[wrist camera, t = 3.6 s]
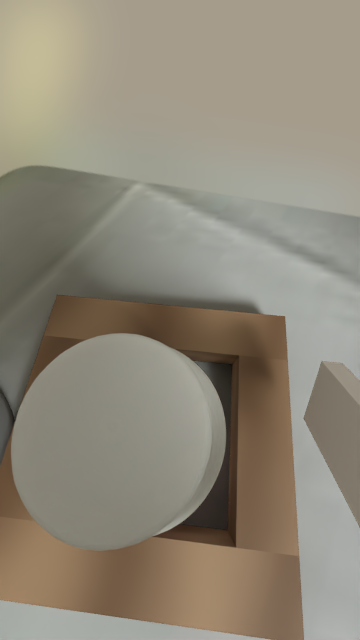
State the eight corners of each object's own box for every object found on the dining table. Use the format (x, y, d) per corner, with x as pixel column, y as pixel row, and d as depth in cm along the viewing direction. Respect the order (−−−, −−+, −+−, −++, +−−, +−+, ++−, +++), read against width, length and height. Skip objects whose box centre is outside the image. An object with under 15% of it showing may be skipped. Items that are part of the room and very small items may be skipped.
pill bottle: (94, 400, 15) (-41, 351, 6) (182, 364, 15) (186, 272, 6) (123, 507, 13) (-14, 691, 4) (222, 460, 14) (308, 516, 5)
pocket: (273, 329, 16) (285, 316, 14) (283, 609, 11) (304, 643, 9) (70, 309, 17) (57, 294, 15) (-8, 568, 12) (-42, 593, 10)
